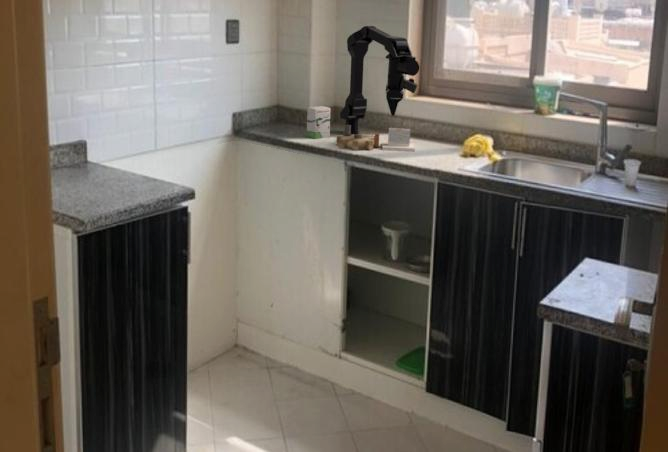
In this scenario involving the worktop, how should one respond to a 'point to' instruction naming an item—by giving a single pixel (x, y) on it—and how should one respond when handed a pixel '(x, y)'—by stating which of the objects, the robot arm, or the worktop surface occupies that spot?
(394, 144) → the marked link
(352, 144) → the sprocket
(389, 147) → the pad
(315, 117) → the ink box
